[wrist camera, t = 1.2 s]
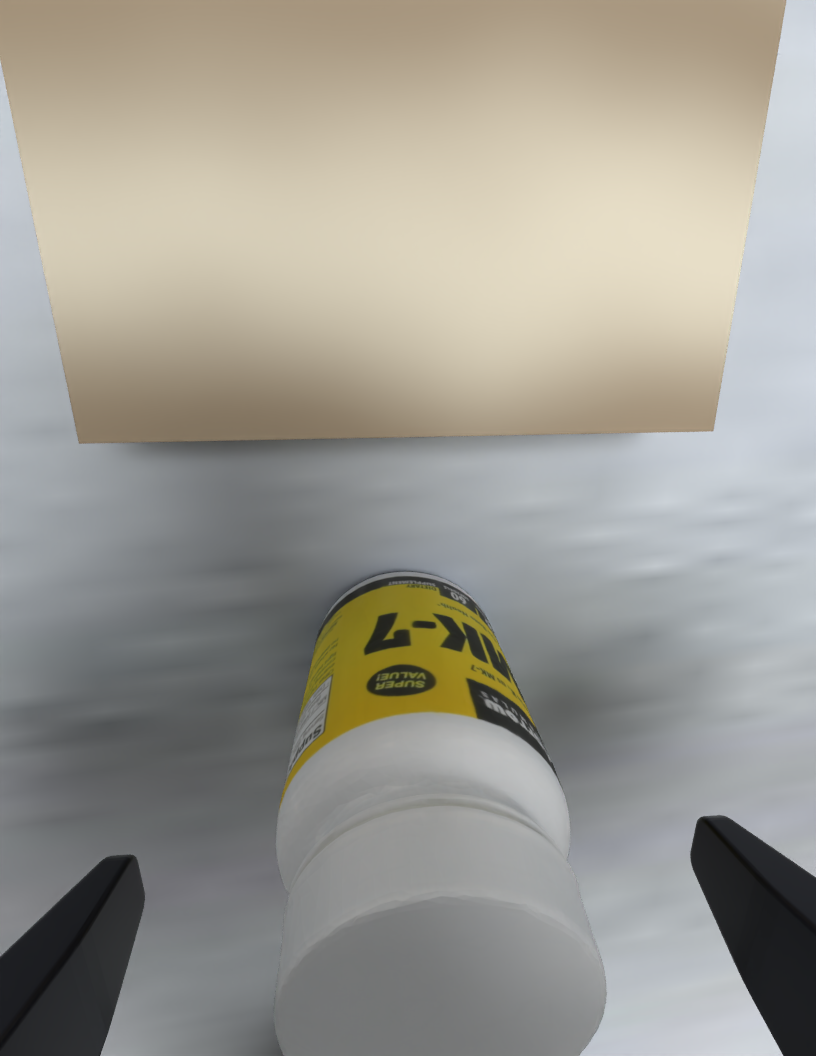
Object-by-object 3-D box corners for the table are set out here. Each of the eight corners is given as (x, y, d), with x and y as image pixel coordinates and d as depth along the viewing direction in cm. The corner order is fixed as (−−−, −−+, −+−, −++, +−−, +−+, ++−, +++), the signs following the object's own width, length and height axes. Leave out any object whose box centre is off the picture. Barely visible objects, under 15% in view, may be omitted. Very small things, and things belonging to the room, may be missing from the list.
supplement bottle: (520, 600, 14) (722, 926, 6) (449, 738, 15) (539, 1165, 7) (350, 540, 13) (316, 824, 5) (291, 692, 14) (188, 1114, 6)
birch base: (648, 418, 13) (713, 431, 10) (137, 427, 12) (78, 443, 9) (741, -297, 9) (877, -539, 6) (7, -348, 8) (-144, -644, 6)
